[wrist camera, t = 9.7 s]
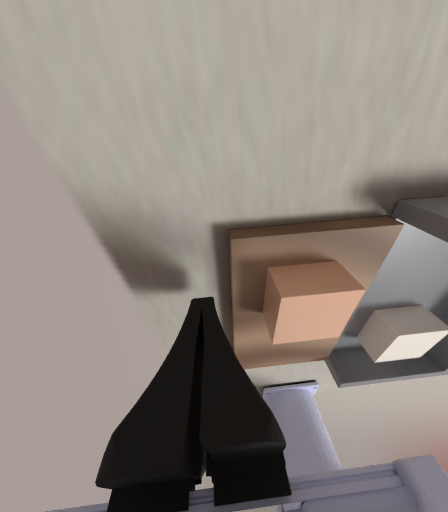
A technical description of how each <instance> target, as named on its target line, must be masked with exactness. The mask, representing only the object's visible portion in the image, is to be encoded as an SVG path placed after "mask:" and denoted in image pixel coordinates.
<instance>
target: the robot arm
mask: <svg viewBox="0 0 448 512" xmlns="http://www.w3.org/2000/svg"><path fill="white" fill-rule="evenodd" d="M319 386H320V385H319V383H318V382H311V383H303V384H294V385H286V386H278V387H270V388H265V389H264V390H263V394H262V396H261V395H260V394H259V392H258V391H257V389H256V388H255V386H254V385H253V383H252V382H251V380H250V379H249V377H248V375H247V374H246V372H245V371H244V369H243V367H242V366H241V364H240V362H239V360H238V359H237V357H236V355H235V353H234V351H233V350H232V348H231V346H230V344H229V342H228V340H227V337H226V335H225V333H224V331H223V328H222V326H221V323H220V321H219V318H218V315H217V312H216V308H215V303H214V298H213V297H206V298H196V299H192V300H191V304H190V307H189V310H188V313H187V315H186V318H185V321H184V323H183V325H182V328H181V330H180V332H179V334H178V336H177V338H176V340H175V342H174V344H173V346H172V348H171V350H170V352H169V354H168V355H167V357H166V359H165V361H164V362H163V364H162V366H161V367H160V369H159V371H158V372H157V374H156V375H155V377H154V378H153V380H152V381H151V383H150V384H149V386H148V387H147V388H146V390H145V391H144V393H143V394H142V395H141V397H140V399H139V400H138V401H137V403H136V404H135V405H134V407H133V408H132V409H131V410H130V412H129V413H128V414H127V415H126V417H125V418H124V419H123V421H122V422H121V423H120V424H119V426H118V427H117V428H116V429H115V431H114V432H113V434H112V436H111V438H110V441H109V443H108V446H107V448H106V451H105V453H104V456H103V459H102V462H101V465H100V468H99V472H98V475H97V478H96V482H95V483H96V486H97V487H101V488H107V489H112V492H111V496H110V500H109V503H103V504H96V505H89V506H82V507H75V508H68V509H60V510H54V511H46V512H232V511H240V510H247V509H254V508H260V507H266V506H273V505H278V506H277V509H276V512H448V475H447V474H446V473H445V471H444V470H443V468H442V467H441V466H440V464H439V463H438V461H437V460H436V458H435V457H434V456H432V455H423V456H415V457H409V458H403V459H399V460H395V461H393V463H386V464H378V465H371V466H365V467H358V468H351V469H342V467H341V464H340V462H339V459H338V457H337V454H336V452H335V450H334V447H333V444H332V442H331V439H330V437H329V435H328V432H327V429H326V427H325V424H324V422H323V419H322V417H321V414H320V412H319V409H318V407H317V405H316V402H315V400H314V397H313V395H314V394H315V392H316V391H317V389H318V387H319ZM205 471H206V476H211V477H212V483H213V484H214V488H209V489H202V490H195V485H197V484H201V481H202V480H201V479H202V476H203V474H204V472H205Z"/></svg>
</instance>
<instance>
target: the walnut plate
mask: <svg viewBox="0 0 448 512" xmlns="http://www.w3.org/2000/svg"><path fill="white" fill-rule="evenodd" d="M404 225H405V224H403V223H401V222H399V221H397V220H395V219H393V218H391V217H389V216H383V217H371V218H359V219H347V220H335V221H323V222H311V223H300V224H288V225H276V226H264V227H252V228H240V229H229V249H230V275H231V301H232V326H233V351H234V353H235V355H236V357H237V359H238V360H239V362H240V364H241V366H242V367H243V369H251V368H259V367H268V366H277V365H285V364H294V363H303V362H311V361H320V360H327V359H328V357H329V355H330V354H331V352H332V350H333V348H334V347H335V345H336V343H337V341H338V340H339V338H340V336H341V335H342V333H343V331H344V329H345V328H346V326H347V324H348V322H349V321H350V319H351V317H352V315H353V314H354V312H355V310H356V309H357V307H358V305H359V303H360V302H361V300H362V298H363V296H364V295H365V293H366V291H367V289H368V288H369V286H370V284H371V283H372V281H373V279H374V277H375V276H376V274H377V272H378V270H379V269H380V267H381V265H382V264H383V262H384V260H385V258H386V257H387V255H388V253H389V251H390V250H391V248H392V246H393V244H394V243H395V241H396V239H397V238H398V236H399V234H400V232H401V231H402V229H403V227H404ZM332 261H338V262H339V263H340V264H341V265H342V266H343V267H344V268H345V269H346V270H347V271H348V272H349V273H350V274H351V275H352V276H353V277H354V278H355V279H356V280H357V281H358V282H359V283H360V284H361V285H362V286H363V287H364V288H365V289H366V290H365V292H364V294H363V296H362V297H361V299H360V301H359V303H358V304H357V306H356V308H355V310H354V311H353V313H352V315H351V317H350V318H349V320H348V322H347V324H346V325H345V327H344V329H343V331H342V332H341V334H340V336H339V337H336V338H327V339H318V340H309V341H300V342H291V343H282V344H273V345H272V342H271V339H270V335H269V332H268V329H267V326H266V323H265V319H264V316H263V305H264V296H265V287H266V279H267V270H268V267H279V266H289V265H300V264H311V263H321V262H332Z"/></svg>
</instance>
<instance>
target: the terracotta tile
mask: <svg viewBox="0 0 448 512" xmlns="http://www.w3.org/2000/svg"><path fill="white" fill-rule="evenodd" d="M365 290H366V289H365V288H364V287H363V286H362V285H361V284H360V283H359V282H358V281H357V280H356V279H355V278H354V277H353V276H352V275H351V274H350V273H349V272H348V271H347V270H346V269H345V268H344V267H343V266H342V265H341V264H340V263H339V262H338V261H332V262H321V263H311V264H300V265H289V266H279V267H268V270H267V279H266V287H265V296H264V305H263V316H264V319H265V323H266V326H267V329H268V332H269V335H270V339H271V342H272V345H273V344H282V343H291V342H300V341H309V340H318V339H327V338H336V337H339V336H340V334H341V332H342V331H343V329H344V327H345V325H346V324H347V322H348V320H349V318H350V317H351V315H352V313H353V311H354V310H355V308H356V306H357V304H358V303H359V301H360V299H361V297H362V296H363V294H364V292H365Z"/></svg>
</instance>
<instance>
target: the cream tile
mask: <svg viewBox="0 0 448 512" xmlns="http://www.w3.org/2000/svg"><path fill="white" fill-rule="evenodd" d="M447 334H448V326H447V325H446V324H445V323H444V322H443V321H441V320H440V319H439V318H438V317H436V316H435V315H434V314H433V313H431V312H430V311H429V310H428V309H427V308H425V307H424V306H423V305H417V306H408V307H398V308H389V309H379V310H375V311H374V312H373V313H372V315H371V316H370V318H369V319H368V321H367V322H366V324H365V325H364V327H363V328H362V330H361V331H360V333H359V334H358V336H357V337H356V338H357V339H358V341H359V342H360V343H361V345H362V346H363V347H364V349H365V350H366V352H367V353H368V354H369V356H370V357H371V359H372V360H373V361H374V363H376V362H384V361H393V360H401V359H410V358H418V357H421V356H422V355H423V354H425V353H426V352H427V351H428V350H429V349H431V348H432V347H433V346H434V345H435V344H436V343H438V342H439V341H440V340H441V339H442V338H443V337H445V336H446V335H447Z"/></svg>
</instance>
